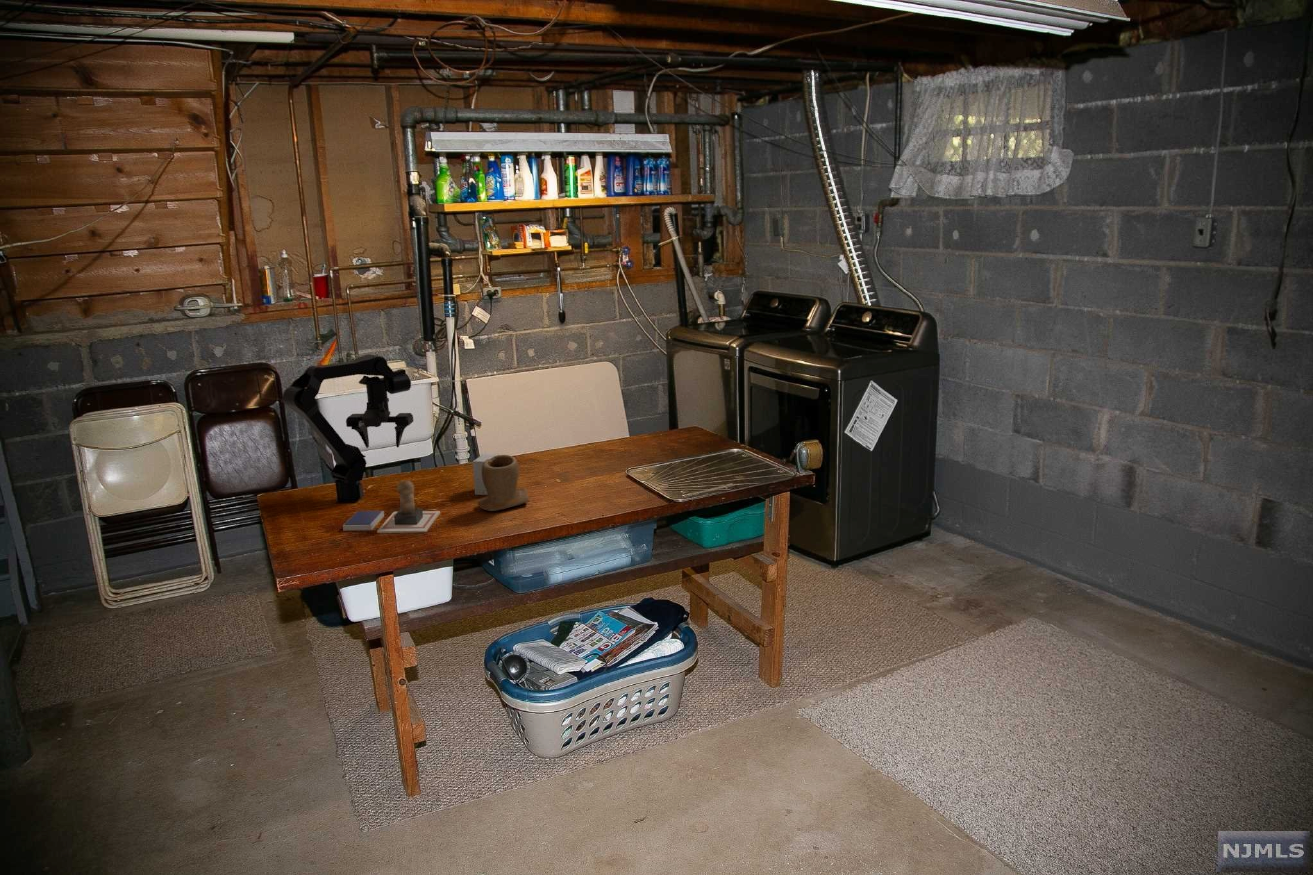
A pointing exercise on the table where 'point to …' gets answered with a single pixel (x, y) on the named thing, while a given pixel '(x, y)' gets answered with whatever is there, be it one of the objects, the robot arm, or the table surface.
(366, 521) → the ink pad
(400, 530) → the board
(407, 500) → the stamp
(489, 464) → the stone cup
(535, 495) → the table surface
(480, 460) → the small box
